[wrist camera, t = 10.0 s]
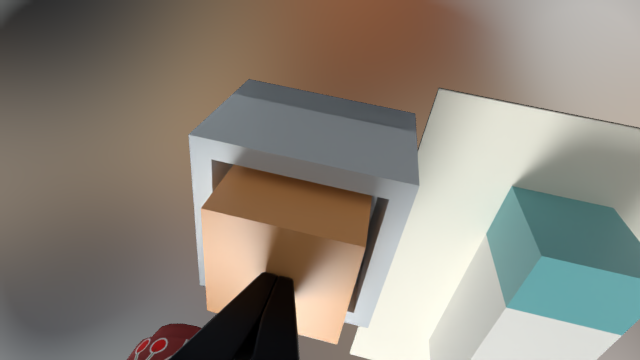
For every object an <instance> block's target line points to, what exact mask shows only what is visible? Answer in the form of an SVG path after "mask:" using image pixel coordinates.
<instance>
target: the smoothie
mask: <svg viewBox="0 0 640 360" xmlns="http://www.w3.org/2000/svg"><path fill="white" fill-rule="evenodd" d="M200 329H201V328H200V327H197V326H192V325H187V324H169V325H165V326H162V327H161V328H160V329H159V330H158V331H157V332H156V333H155V334H154V335H153V336H152V337H150V338H146V339H143V340H142V341H141V342H140V343H139V344H138V345H137V346H136V348H135V349H134V351H133V352H132V353H131V355H130V356H129V358H128V359H127V360H168V359H169V358H170V357H171V356H172V355H174V354H175V353H176V352H177V351H178V350H179V349H180V348H181V347H182V346H183V345H184V344H185V343H186V342H188V341H189V340H190V339H191V338H192V337H193V336H194V335H195V334H196V333H197V332H198V331H199V330H200Z"/></svg>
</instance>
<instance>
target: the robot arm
mask: <svg viewBox="0 0 640 360" xmlns="http://www.w3.org/2000/svg"><path fill="white" fill-rule="evenodd" d="M168 360H300V356H299V344H298V330H297V317H296V305H295V292H294V281H293V279H292V278H289V277H285V276H279V277H278V276H277V275H276V274H273V273H269V272H262V273H261V274H260V275H259V276H257V277H256V278H255V279H254V280H253V281H252V282H251V283H250V284H249V285H248V286H247V287H246V288H245V289H243V290H242V291H241V292H240V293H239V294H238V295H237V296H236V297H235V298H234V299H233V300H232V301H231V302H229V303H228V304H227V305H226V306H225V307H224V308H223V309H222V310H221V311H220V312H219V313H218V314H217V315H215V317H213V318H212V319H211V320H210V321H209V322H208V323H207V324H206V325H205V326H204V327H203V328H201V329H200V330H199V331H198V332H197V333H196V334H195V335H194V336H193V337H192V338H191V339H190V340H189V341H188V342H186V343H185V344H184V345H183V346H182V347H181V348H180V349H179V350H178V351H177V352H176V353H175V354H174V355H172V356H171V357H170V358H169V359H168Z"/></svg>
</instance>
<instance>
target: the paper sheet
mask: <svg viewBox="0 0 640 360" xmlns="http://www.w3.org/2000/svg"><path fill="white" fill-rule="evenodd" d="M417 152H418V168H419V185H420V186H419V189H418V192H417V194H416V197H415V200H414V203H413V205H412V208H411V211H410V214H409V216H408V219H407V222H406V225H405V227H404V230H403V233H402V236H401V238H400V241H399V244H398V247H397V249H396V252H395V255H394V258H393V260H392V263H391V266H390V269H389V271H388V274H387V277H386V280H385V282H384V285H383V288H382V291H381V293H380V296H379V299H378V302H377V304H376V307H375V310H374V313H373V315H372V318H371V321H370V324H369V327H368V328H365V327H361V326H358V329H357V332H356V335H355V338H354V341H353V344H352V346H351V349H350V354H352V355H356V356H359V357H363V358H367V359H371V360H430V351H429V339H430V337H431V335H432V333H433V331H434V330H435V328H436V326H437V324H438V322H439V320H440V318H441V317H442V315H443V313H444V311H445V309H446V307H447V305H448V303H449V302H450V300H451V298H452V296H453V294H454V292H455V290H456V289H457V287H458V285H459V283H460V281H461V279H462V277H463V276H464V274H465V272H466V270H467V268H468V266H469V264H470V263H471V261H472V259H473V257H474V255H475V253H476V251H477V249H478V248H479V246H480V244H481V242H482V240H483V238H484V236H485V235H486V233H487V231H488V229H489V227H490V225H491V223H492V222H493V220H494V218H495V216H496V214H497V212H498V210H499V209H500V207H501V205H502V203H503V201H504V199H505V197H506V195H507V194H508V192H509V190H510V188H511V186H514V187H519V188H523V189H528V190H533V191H537V192H542V193H547V194H551V195H556V196H561V197H565V198H570V199H574V200H579V201H584V202H588V203H593V204H598V205H602V206H607V207H612V208H614V209H615V210H616V212H617V213H618V214H619V216H620V217H621V218H622V220H623V221H624V222H625V223H626V225H627V226H628V227H629V229H630V230H631V231H632V233H633V234H634V235H635V236H636V238H637V239H638V240H639V242H640V128H639V127H634V126H629V125H624V124H619V123H614V122H609V121H604V120H599V119H594V118H589V117H584V116H579V115H574V114H569V113H564V112H559V111H553V110H549V109H544V108H539V107H534V106H529V105H524V104H519V103H514V102H509V101H504V100H499V99H494V98H489V97H484V96H479V95H474V94H469V93H464V92H459V91H454V90H449V89H444V88H438V91H437V94H436V97H435V100H434V103H433V105H432V109H431V112H430V115H429V117H428V120H427V123H426V126H425V129H424V132H423V135H422V138H421V141H420V144H419V147H418V150H417Z"/></svg>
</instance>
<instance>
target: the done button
mask: <svg viewBox="0 0 640 360" xmlns="http://www.w3.org/2000/svg"><path fill="white" fill-rule="evenodd" d="M371 202H372V196H371V195H367V194H363V193H358V192H354V191H349V190H345V189H341V188H336V187H332V186H327V185H323V184H318V183H314V182H310V181H305V180H301V179H296V178H292V177H288V176H283V175H279V174H274V173H270V172H265V171H261V170H257V169H252V168H248V167H243V166H239V165H235V164H234V165H233V166H232V167H231V169H230V170H229V171H228V173H227V174H226V175H225V177H224V178H223V179H222V181H221V182H220V183H219V185H218V186H217V187H216V189H215V190H214V191H213V193H212V194H211V195H210V197H209V198H208V199H207V201H206V202H205V203H204V205H203V206H202V207H201V221H202V237H203V253H204V270H205V286H206V301H207V311H210V312H214V313H219V312H220V311H221V310H222V309H223V308H224V307H225V306H226V305H227V304H228V303H229V302H231V301H232V300H233V299H234V298H235V297H236V296H237V295H238V294H239V293H240V292H241V291H242V290H243V289H245V288H246V287H247V286H248V285H249V284H250V283H251V282H252V281H253V280H254V279H255V278H256V277H257V276H259V275H260V274H261V273H262V272H269V273H273V274H276V275H277V276H278V277H279V276H285V277H289V278H292V279H293V281H294V292H295V305H296V317H297V330H298V334H299V335H303V336H307V337H310V338H314V339H318V340H322V341H326V342H329V343H334V344H338V340H339V337H340V333H341V330H342V327H343V323H344V320H345V316H346V313H347V310H348V306H349V303H350V299H351V296H352V293H353V289H354V286H355V282H356V279H357V276H358V272H359V269H360V266H361V262H362V259H363V255H364V252H365V249H366V242H367V234H368V226H369V218H370V210H371Z"/></svg>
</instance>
